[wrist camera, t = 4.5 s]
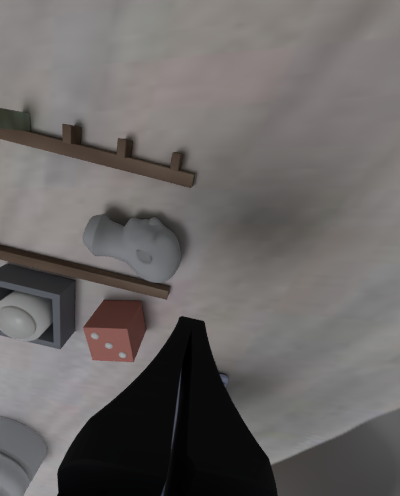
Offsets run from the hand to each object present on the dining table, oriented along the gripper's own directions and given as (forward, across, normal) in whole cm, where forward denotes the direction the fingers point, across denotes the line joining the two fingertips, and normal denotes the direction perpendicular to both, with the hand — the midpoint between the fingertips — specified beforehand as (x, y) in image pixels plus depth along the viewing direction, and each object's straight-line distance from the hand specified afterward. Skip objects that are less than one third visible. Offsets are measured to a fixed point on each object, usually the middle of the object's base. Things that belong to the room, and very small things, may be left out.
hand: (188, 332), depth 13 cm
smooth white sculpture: (+10, +6, -1) cm, 11 cm away
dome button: (+9, +15, +9) cm, 20 cm away
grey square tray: (+9, +15, +9) cm, 20 cm away
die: (+9, +6, +9) cm, 14 cm away
